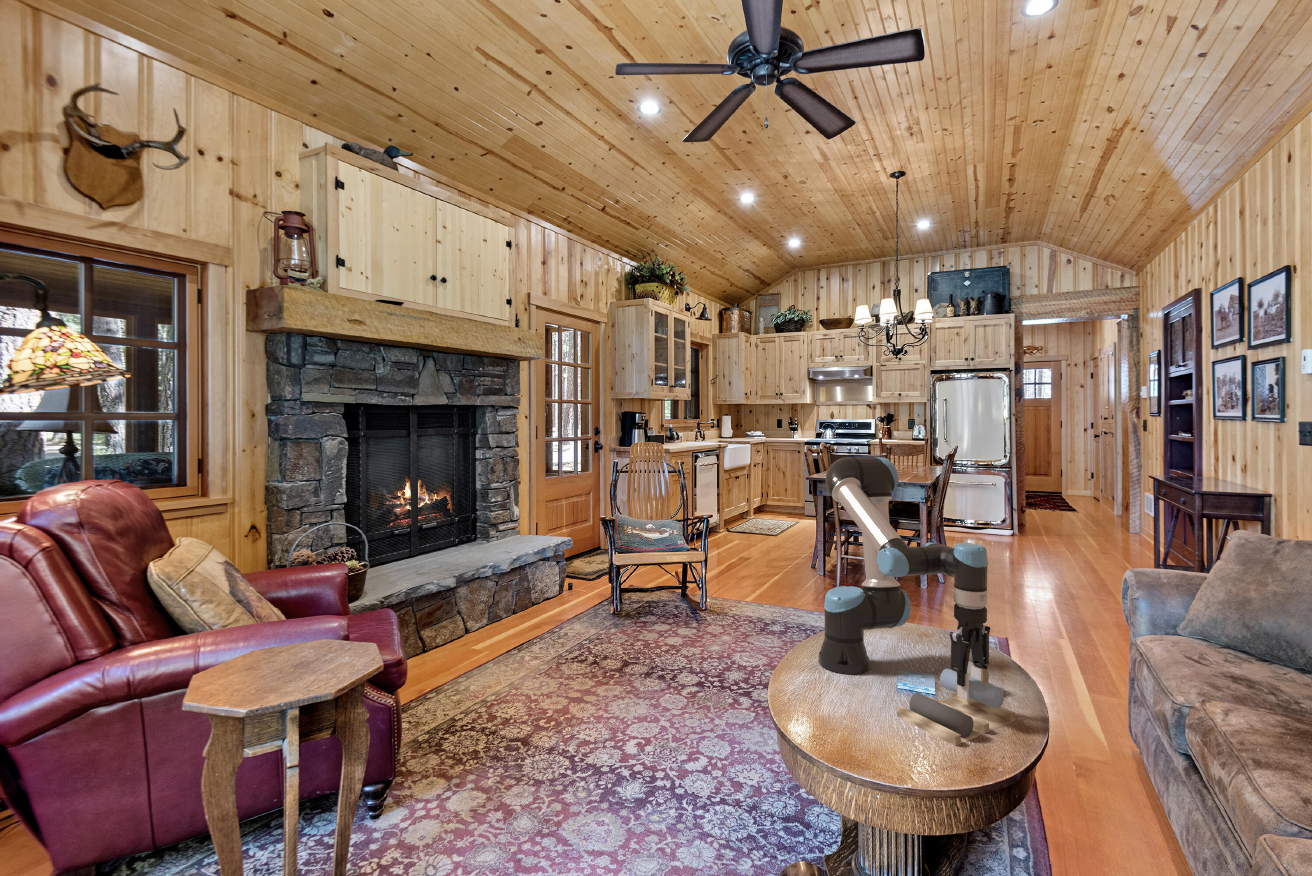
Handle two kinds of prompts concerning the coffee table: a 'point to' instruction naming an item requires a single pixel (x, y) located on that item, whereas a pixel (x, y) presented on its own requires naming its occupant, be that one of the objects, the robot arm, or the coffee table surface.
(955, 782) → the coffee table surface
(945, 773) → the coffee table surface
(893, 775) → the coffee table surface
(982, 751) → the coffee table surface
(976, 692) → the gray dowel
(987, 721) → the slot rack
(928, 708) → the charcoal rod
